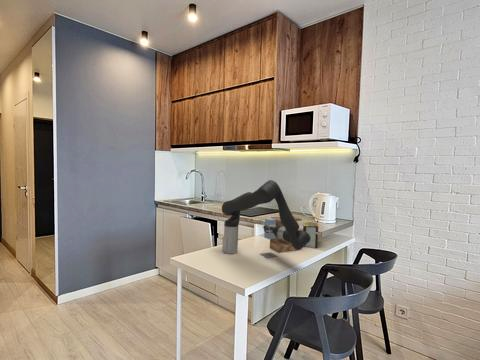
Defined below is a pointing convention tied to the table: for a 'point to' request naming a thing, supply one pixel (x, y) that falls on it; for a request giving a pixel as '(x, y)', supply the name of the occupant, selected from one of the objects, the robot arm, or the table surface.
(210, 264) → the table surface
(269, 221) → the carton
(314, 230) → the protein box
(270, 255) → the mat
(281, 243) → the shelf
